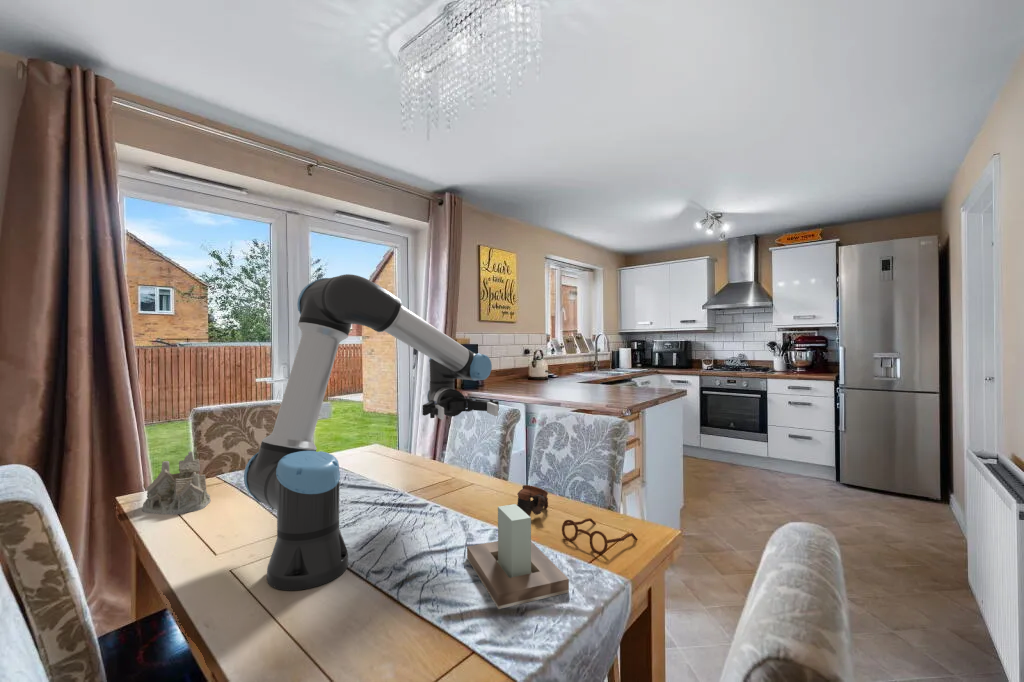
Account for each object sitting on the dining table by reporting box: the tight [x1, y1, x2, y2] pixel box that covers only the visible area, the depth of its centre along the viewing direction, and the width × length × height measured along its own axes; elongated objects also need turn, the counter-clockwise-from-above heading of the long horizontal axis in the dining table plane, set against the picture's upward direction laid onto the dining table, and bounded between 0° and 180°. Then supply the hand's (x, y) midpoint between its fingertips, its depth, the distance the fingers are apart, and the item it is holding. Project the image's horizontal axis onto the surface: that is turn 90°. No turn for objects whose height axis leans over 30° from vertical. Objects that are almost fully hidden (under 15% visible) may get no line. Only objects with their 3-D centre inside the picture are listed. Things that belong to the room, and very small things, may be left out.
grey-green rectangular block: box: [497, 503, 532, 578], centre depth 90 cm, size 4×8×12 cm, turn 22°
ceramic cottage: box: [141, 451, 211, 516], centre depth 128 cm, size 16×16×15 cm
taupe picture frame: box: [466, 540, 570, 610], centre depth 90 cm, size 14×20×2 cm
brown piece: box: [516, 484, 549, 517], centre depth 122 cm, size 12×10×8 cm
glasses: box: [561, 518, 638, 555], centre depth 106 cm, size 13×13×5 cm
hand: (470, 412), depth 107 cm, fingers open, 13 cm apart
